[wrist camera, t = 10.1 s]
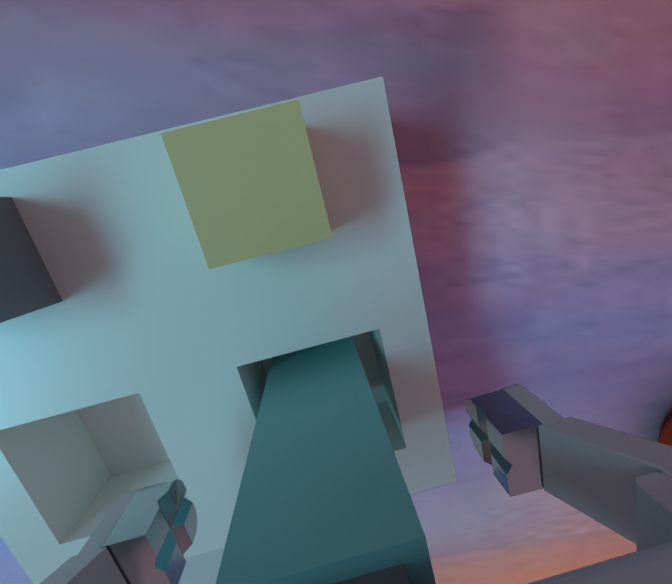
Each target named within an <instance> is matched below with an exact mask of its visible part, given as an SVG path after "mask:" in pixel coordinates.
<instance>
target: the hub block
mask: <svg viewBox="0 0 672 584" xmlns="http://www.w3.org/2000/svg"><path fill="white" fill-rule="evenodd" d="M350 336H352V339H353V342H354V344H355V347H356V350H357V352H358V355H359V358H360V361H361V363H362V366H363V369H364V372H365V374H366V377H367V380H368V382H369V385H370V388H371V391H372V393H373V396H374V399H375V401H376V404H377V407H378V410H379V412H380V415H381V418H382V420H383V423H384V426H385V429H386V431H387V434H388V437H389V439H390V442H391V445H392V448H393V450H394V453H395V456H396V459H397V461H398V464H399V467H400V469H401V472H402V475H403V478H404V480H405V483H406V486H407V488H408V491H409V494H410V495H411V494H414V493H418V492H421V491H425V490H428V489H432V488H435V487H439V486H442V485H446V484H449V483H453V482H456V475H455V470H454V464H453V459H452V453H451V448H450V442H449V437H448V431H447V426H446V420H445V415H444V409H443V404H442V398H441V393H440V387H439V382H438V376H437V371H436V365H435V360H434V354H433V349H432V343H431V338H430V332H429V327H428V321H427V316H426V311H425V305H424V300H423V294H422V289H421V283H420V278H419V272H418V267H417V261H416V256H415V250H414V245H413V239H412V234H411V228H410V223H409V217H408V212H407V206H406V201H405V195H404V190H403V184H402V179H401V173H400V168H399V162H398V157H397V151H396V146H395V140H394V135H393V129H392V124H391V119H390V113H389V108H388V102H387V97H386V91H385V86H384V80H383V76H382V77H377V78H373V79H369V80H365V81H361V82H357V83H353V84H349V85H345V86H341V87H337V88H333V89H328V90H324V91H320V92H316V93H312V94H308V95H304V96H300V97H296V98H292V99H288V100H283V101H279V102H275V103H271V104H267V105H263V106H259V107H255V108H251V109H247V110H243V111H239V112H234V113H230V114H226V115H222V116H218V117H214V118H210V119H206V120H202V121H198V122H194V123H189V124H185V125H181V126H177V127H173V128H169V129H165V130H161V131H157V132H153V133H149V134H145V135H140V136H136V137H132V138H128V139H124V140H120V141H116V142H112V143H108V144H104V145H100V146H95V147H91V148H87V149H83V150H79V151H75V152H71V153H67V154H63V155H59V156H55V157H51V158H46V159H42V160H38V161H34V162H30V163H26V164H22V165H18V166H14V167H10V168H6V169H1V170H0V536H1V538H2V539H3V541H4V542H5V544H6V545H7V547H8V548H9V550H10V551H11V552H12V554H13V555H14V557H15V558H16V560H17V561H18V563H19V564H20V566H21V567H22V569H23V570H24V572H25V573H26V574H27V576H28V577H29V579H30V580H31V582H32V583H33V584H40V583H41V582H42V581H44V580H45V579H46V578H47V577H48V576H49V575H51V574H52V573H53V572H54V571H55V570H56V569H58V568H59V567H60V566H61V565H62V564H63V563H65V562H66V561H67V560H68V559H69V558H70V557H72V556H76V555H78V554H79V552H80V551H81V549H82V548H83V546H84V545H85V543H86V542H87V540H88V539H89V538H90V536H91V535H92V533H93V532H94V530H95V529H96V527H97V526H98V524H99V523H100V522H101V520H102V519H103V517H104V516H105V514H106V513H107V511H108V510H109V508H110V507H111V505H112V504H113V503H114V501H115V500H116V498H117V497H118V496H119V495H121V494H123V493H124V492H128V491H132V490H136V489H140V488H143V487H147V486H151V485H154V484H158V483H162V482H166V481H170V480H174V479H179V480H182V481H183V483H184V485H185V487H186V489H187V491H186V494H185V497H184V498H186V499H188V500H190V501H191V502H193V504H194V506H195V509H196V513H197V518H198V520H197V532H196V535H195V538H194V541H193V544H192V545H191V546H190V547H189V548H188V550H187V551H186V552H185V553H184V557H185V558H188V557H191V556H195V555H198V554H202V553H205V552H209V551H212V550H216V549H220V548H223V547H225V544H226V540H227V536H228V532H229V528H230V524H231V520H232V516H233V512H234V508H235V504H236V500H237V496H238V492H239V488H240V484H241V480H242V476H243V472H244V468H245V464H246V460H247V456H248V452H249V448H250V444H251V440H252V436H253V432H254V428H255V424H256V420H257V416H258V412H259V408H260V404H261V400H262V396H263V392H264V388H265V384H266V380H267V376H268V372H269V368H270V364H271V360H272V357H275V356H279V355H283V354H287V353H290V352H294V351H298V350H302V349H305V348H309V347H313V346H317V345H320V344H324V343H328V342H332V341H335V340H339V339H343V338H347V337H350Z"/></svg>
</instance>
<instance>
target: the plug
mask: <svg viewBox="0 0 672 584" xmlns="http://www.w3.org/2000/svg"><path fill="white" fill-rule="evenodd" d="M216 584H436V583H435V579H434V574H433V570H432V565H431V561H430V556H429V552H428V547H427V543H426V538H425V535H424V532H423V529H422V526H421V524H420V521H419V518H418V516H417V513H416V510H415V507H414V505H413V502H412V499H411V497H410V494H409V491H408V488H407V486H406V483H405V480H404V478H403V475H402V472H401V469H400V467H399V464H398V461H397V459H396V456H395V453H394V450H393V448H392V445H391V442H390V439H389V437H388V434H387V431H386V429H385V426H384V423H383V420H382V418H381V415H380V412H379V410H378V407H377V404H376V401H375V399H374V396H373V393H372V391H371V388H370V385H369V382H368V380H367V377H366V374H365V372H364V369H363V366H362V363H361V361H360V358H359V355H358V352H357V350H356V347H355V344H354V342H353V339H352V336H350V337H347V338H343V339H339V340H335V341H332V342H328V343H324V344H320V345H317V346H313V347H309V348H305V349H302V350H298V351H294V352H290V353H287V354H283V355H279V356H275V357H272V360H271V364H270V368H269V372H268V376H267V380H266V384H265V388H264V392H263V396H262V400H261V404H260V408H259V412H258V416H257V420H256V424H255V428H254V432H253V436H252V440H251V444H250V448H249V452H248V456H247V460H246V464H245V468H244V472H243V476H242V480H241V484H240V488H239V492H238V496H237V500H236V504H235V508H234V512H233V516H232V520H231V524H230V528H229V532H228V536H227V540H226V544H225V548H224V552H223V556H222V560H221V564H220V568H219V572H218V576H217V580H216Z"/></svg>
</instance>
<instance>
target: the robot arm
mask: <svg viewBox="0 0 672 584" xmlns="http://www.w3.org/2000/svg"><path fill="white" fill-rule="evenodd" d="M466 411H467V413H468V414H469V416H470V417H471V418H472V420H471V422H470V424H469V429H470V434H471V437H472V440H473V443H474V446H475V447H476V449H477V451H478V453H479V455H480V456H481V457H482V459H483V460H484V461H485V462H487V463H489V464H491V465H493V472H494V475H495V477H496V478H497V480H498V481H499V482H500V484H501V485H502V486H503V488H504V489H505V490H506V492H507V493H508V494H509V496H510V497H511V496H515V495H519V494H523V493H527V492H531V491H535V490H539V489H543V488H544V490H545V491H547V492H548V493H550V494H552V495H553V496H555V497H557V498H559V499H560V500H562V501H564V502H565V503H567V504H569V505H571V506H572V507H574V508H576V509H577V510H579V511H581V512H582V513H584V514H586V515H588V516H589V517H591V518H593V519H594V520H596V521H598V522H600V523H601V524H603V525H605V526H606V527H608V528H610V529H611V530H613V531H615V532H617V533H618V534H620V535H622V536H623V537H625V538H627V539H629V540H630V541H632V542H634V543H635V544H637V552H633V553H630V554H626V555H623V556H620V557H616V558H613V559H609V560H606V561H603V562H599V563H596V564H592V565H589V566H586V567H582V568H579V569H576V570H572V571H569V572H565V573H562V574H559V575H555V576H552V577H548V578H545V579H542V580H538V581H535V582H531V583H528V584H672V446H669V445H665V444H662V443H658V442H655V441H651V440H648V439H645V438H641V437H638V436H634V435H631V434H627V433H624V432H620V431H617V430H614V429H610V428H607V427H603V426H600V425H596V424H593V423H589V422H586V421H583V420H579V419H576V418H572V417H568V418H563V417H562V416H561V415H559V414H558V413H557V412H556V411H554V410H553V409H552V408H550V407H549V406H548V405H547V404H545V403H544V402H543V401H541V400H540V399H539V398H538V397H536V396H535V395H534V394H532V393H531V392H530V391H528V390H527V389H526V388H525V387H523V386H522V385H519V384H515V385H512V386H509V387H505V388H502V389H500V390H497V391H494V392H490V393H487V394H483V395H480V396H476V397H472V398H469V399H466ZM186 491H187V489H186V487H185V485H184V483H183V481H182V480H179V479H174V480H170V481H166V482H162V483H158V484H154V485H151V486H147V487H143V488H140V489H136V490H132V491H128V492H124V493H123V494H121V495H119V496H118V497H117V498H116V500H115V501H114V503H113V504H112V505H111V507H110V508H109V510H108V511H107V513H106V514H105V516H104V517H103V519H102V520H101V522H100V523H99V524H98V526H97V527H96V529H95V530H94V532H93V533H92V535H91V536H90V538H89V539H88V540H87V542H86V543H85V545H84V546H83V548H82V549H81V551H80V552H79V554H78V555H76V556H72V557H70V558H69V559H68V560H67V561H66V562H65V563H63V564H62V565H61V566H60V567H59V568H58V569H56V570H55V571H54V572H53V573H52V574H51V575H49V576H48V577H47V578H46V579H45V580H44V581H42V582H41V583H40V584H179V581H180V578H181V575H182V573H183V570H184V567H185V564H186V560H185V557H184V553H185V552H186V551H187V550H188V548H189V547H190V546H191V545H192V544H193V541H194V538H195V535H196V532H197V520H198V518H197V513H196V509H195V506H194V504H193V502H191V501H190V500H188V499H186V498H184V497H185V494H186Z"/></svg>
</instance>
